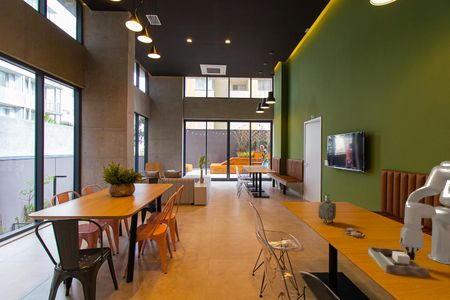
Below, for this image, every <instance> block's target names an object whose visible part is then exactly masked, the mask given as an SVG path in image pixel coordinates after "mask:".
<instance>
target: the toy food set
mask: <svg viewBox="0 0 450 300" xmlns="http://www.w3.org/2000/svg"><path fill="white" fill-rule="evenodd" d="M343 231H344V233H345V234H346V236H350V237H353V238H362V237H363V236H364V235H365V234H364V232H363V231H362V230H359V229H357V228H354V227H349V228H346V229H343Z"/></svg>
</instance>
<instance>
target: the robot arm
mask: <svg viewBox="0 0 450 300" xmlns="http://www.w3.org/2000/svg"><path fill="white" fill-rule="evenodd" d="M436 195H439V203H441V205H442V206H433V205H430V204H426V203H421V202H419V201H420V200H422V199H423V198H427V197H430V196H436ZM404 205H405V206H404V219H403V221H404V222H403V223H404V224H403V226H402V227H401V230H400V235H399V236H400V237H399V244H400V248H402V249H403V250H404V249H405V250H406V254H407V255H408V256H409V257H410V260H413V261H415V259H416V253H417V252H418V251H422V250H423V247H424V233H423V230H422V229H423V228H424V225H422V219H431V222H432V223H431V224H432V225H431V226H432V230H431V252H430V253H428V254H427V257H428V259H430V260H432V261H434V262H438V263H440V264H444V265H450V160H445V161H444V160H443V161H442V162H440V164H439V165H436V166H434V167H432V169H431V171H430V173H429V175H428V177H427V179H426V181H425V183H424V185H422V186H421V187H419V188H417V189H415V190H414V191H413V192H411V193H410V194H409V196H408V198H407V200H406V202H405V204H404Z"/></svg>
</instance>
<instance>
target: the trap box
mask: <svg viewBox="0 0 450 300" xmlns="http://www.w3.org/2000/svg"><path fill="white" fill-rule="evenodd" d="M393 251H396V252H404V253H405V250H404V249H398V248H397V249H394V248H384V247H374V246H371V247H370V246H368V247H367V255H369V256H370V257H371V259H373V261H375V263H377V265H378V266H379V267H380V268H381V269H382V270H383V271H384V272H385V273H386V274H396V275H405V276H413V277H414V276H416V277H423V278H430V269H429V268H426V267H421V266H420V265H419V264H418V263H416V262H415V260H410V263H409V264H405V263H397V262H396V261H395V260H394V259H393V258H392V252H393Z"/></svg>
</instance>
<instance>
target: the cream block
mask: <svg viewBox="0 0 450 300" xmlns="http://www.w3.org/2000/svg"><path fill="white" fill-rule="evenodd" d="M392 258H393V259H394V260H395V261H396V262H397V263H405V264H409V263H410V257H409V256H408V255H407V252H405V251H404V252H396V251H393V252H392Z"/></svg>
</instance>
